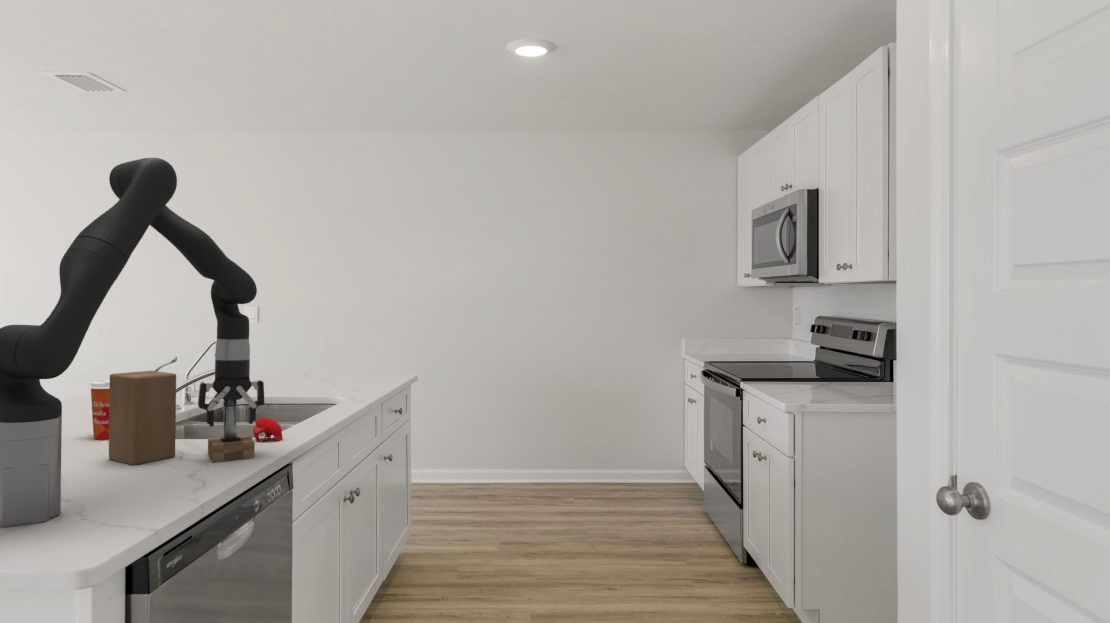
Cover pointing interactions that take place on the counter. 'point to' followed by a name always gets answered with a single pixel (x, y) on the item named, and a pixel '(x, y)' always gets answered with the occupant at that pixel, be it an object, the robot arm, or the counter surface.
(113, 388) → the wooden block
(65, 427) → the counter surface
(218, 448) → the checkered wooden holder
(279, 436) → the cap
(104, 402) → the coffee cup
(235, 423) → the grey metal cylinder
